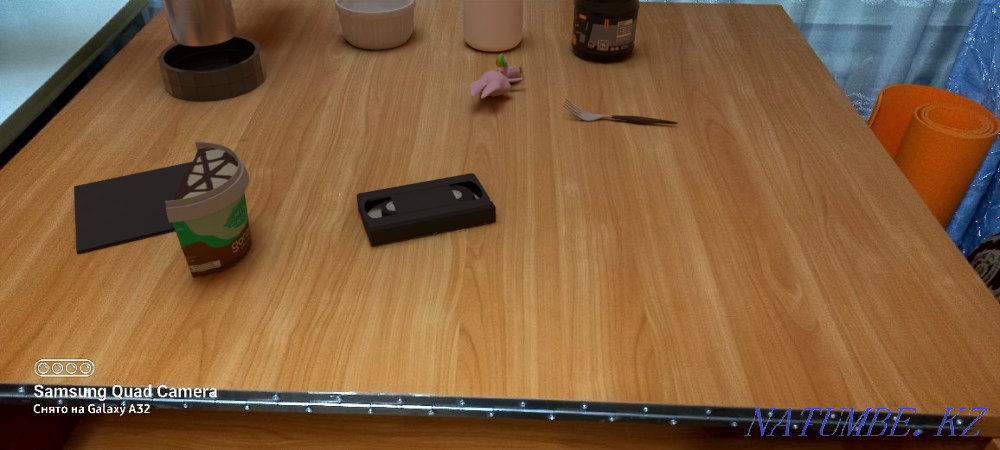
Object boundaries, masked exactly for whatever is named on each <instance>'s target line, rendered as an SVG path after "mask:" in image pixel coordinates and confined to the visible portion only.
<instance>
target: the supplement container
mask: <svg viewBox="0 0 1000 450" xmlns="http://www.w3.org/2000/svg"><path fill="white" fill-rule="evenodd" d="M640 6H641V2H640V0H573V7H574V8H573V19H572V33H571V34H572V36H571V42H570V45H571V48H572V50H573V52H574V53H575V54H576V55H578V56H579V57H580V58H583V59H586V60H588V61H593V62H601V63H609V62H610V63H611V62H617V61H621V60H624V59H627V58H628V57H630V56H631V55H632V54H633V52H634V50H635V47H636V46H635V45H636V44H635V42H636V32H637V24H638V15H639V9H640Z"/></svg>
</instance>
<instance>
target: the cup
mask: <svg viewBox="0 0 1000 450" xmlns="http://www.w3.org/2000/svg"><path fill="white" fill-rule="evenodd" d="M523 23H524V0H462V32H463V33H462V34H463V40H464V41H465V42H466V44H467V45H468V46H470V47H471V48H472V49H476V50H478V51H483V52H491V53H492V52H493V53H494V52H504V51H508V50H511V49H514V48H515V47H517V46H518V45H519V44H520V43H521V41H522V40H523V32H524V31H523V29H524V26H523V25H524V24H523Z"/></svg>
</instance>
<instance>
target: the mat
mask: <svg viewBox="0 0 1000 450" xmlns="http://www.w3.org/2000/svg"><path fill="white" fill-rule="evenodd" d="M192 162H193V161H188V162H184V163H179V164H174V165H170V166H164V167H159V168H155V169H150V170H146V171H140V172H136V173H131V174H125V175H120V176H115V177H112V178H107V179H101V180H97V181H93V182H88V183H83V184H78V185H74V186H73V197H74V201H73V202H74V225H75V228H74V229H75V248H76V249H75V251H76V254H77V255H78V254H79V255H80V254H83V253H88V252H92V251H96V250H100V249H104V248H109V247H114V246H118V245H121V244H127V243H130V242H134V241H138V240H142V239H146V238H151V237H155V236H158V235H164V234H167V233H171V232H176V231H175V229H174V226H173V223H172V222H169V221H168V216H167V212H166V208H167V207H166V203H165V201H172V200H174V198H175V196H176V194H177V192H178V189H179V187H180V184H181V181H182V178H183V176H184V173H185V172H186V170H187V169H188V168H189V166H190V165H191V164H192Z"/></svg>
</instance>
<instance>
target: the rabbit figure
mask: <svg viewBox="0 0 1000 450" xmlns="http://www.w3.org/2000/svg"><path fill="white" fill-rule="evenodd" d="M495 66H497V68H496V70H489V71H484V72H483V74H482V75H481V77H480V79H478V80H474V81H473V82H471V83H470V85H469V95H470V97H472V98H474V97H475V96H477V95H478V94H479V93H480V92H482V93H481V96H480V99H485V98H487V97H488V96H489V97H492V98H495V97H499V96H501V95H505V94H507V93H508V92H510V91H511V90H512V85H511V83H512V84H513V83H517V82H523V80H524V78H523V77H522V75H524V72H523V68H522V64H521V65H518V66H517V67H515V66H512V65H508V61H506V60H505V55H504V53H500V54H498V55H497V57H496V60H495Z"/></svg>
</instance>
